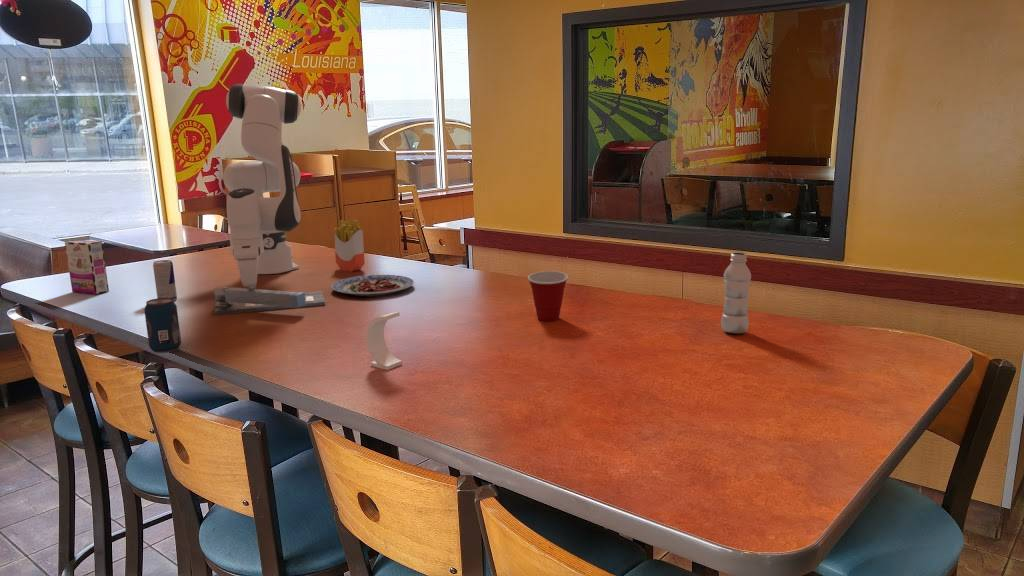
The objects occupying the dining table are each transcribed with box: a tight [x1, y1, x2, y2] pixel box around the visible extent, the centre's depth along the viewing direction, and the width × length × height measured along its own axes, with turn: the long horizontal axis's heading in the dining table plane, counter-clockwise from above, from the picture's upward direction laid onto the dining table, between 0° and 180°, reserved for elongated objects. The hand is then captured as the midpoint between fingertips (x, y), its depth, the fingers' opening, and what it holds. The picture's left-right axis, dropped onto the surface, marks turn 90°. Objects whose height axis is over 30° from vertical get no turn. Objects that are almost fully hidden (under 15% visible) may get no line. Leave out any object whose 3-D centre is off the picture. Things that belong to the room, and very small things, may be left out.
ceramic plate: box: [331, 274, 415, 297], centre depth 229 cm, size 26×26×3 cm
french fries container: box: [333, 218, 365, 273], centre depth 257 cm, size 5×11×18 cm, turn 52°
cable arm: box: [213, 285, 306, 309], centre depth 204 cm, size 4×29×4 cm, turn 71°
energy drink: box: [152, 259, 178, 302], centre depth 217 cm, size 5×5×12 cm
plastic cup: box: [527, 270, 569, 322], centre depth 193 cm, size 11×11×12 cm
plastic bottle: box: [720, 251, 752, 335], centre depth 177 cm, size 6×7×20 cm
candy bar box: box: [64, 239, 110, 295], centre depth 229 cm, size 11×5×16 cm, turn 68°
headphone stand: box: [365, 311, 403, 371], centre depth 158 cm, size 5×6×12 cm
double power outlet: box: [214, 290, 326, 315], centre depth 212 cm, size 14×30×2 cm, turn 108°
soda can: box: [143, 297, 182, 354], centre depth 171 cm, size 7×7×12 cm
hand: (252, 294), depth 208 cm, fingers closed, pressing on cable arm
